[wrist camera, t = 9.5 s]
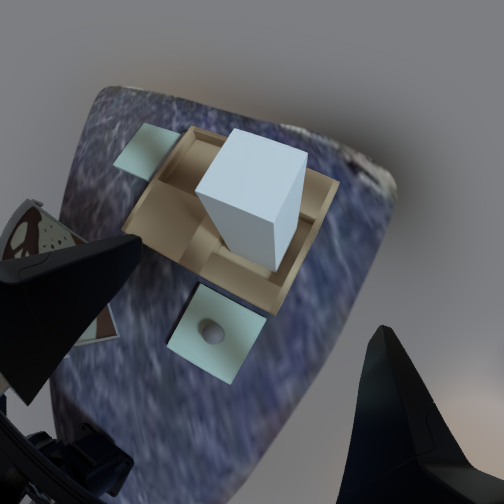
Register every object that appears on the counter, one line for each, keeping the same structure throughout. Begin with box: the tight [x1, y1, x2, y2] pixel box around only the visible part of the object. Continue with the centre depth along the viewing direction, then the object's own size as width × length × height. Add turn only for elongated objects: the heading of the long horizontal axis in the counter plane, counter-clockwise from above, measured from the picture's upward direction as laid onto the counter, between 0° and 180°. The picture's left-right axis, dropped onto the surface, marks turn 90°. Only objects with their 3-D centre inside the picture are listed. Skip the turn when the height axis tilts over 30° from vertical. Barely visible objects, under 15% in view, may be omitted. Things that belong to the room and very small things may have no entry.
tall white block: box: [195, 128, 308, 273], centre depth 18 cm, size 4×4×11 cm
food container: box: [0, 199, 120, 359], centre depth 20 cm, size 12×6×10 cm, turn 24°
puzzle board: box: [113, 123, 340, 384], centre depth 24 cm, size 18×22×2 cm
